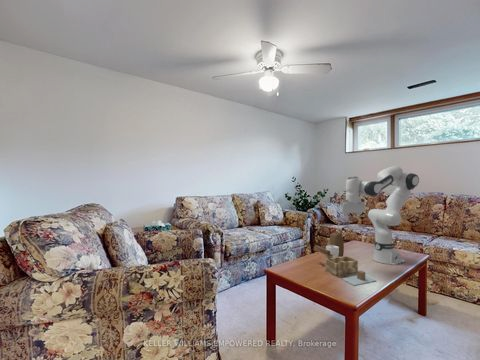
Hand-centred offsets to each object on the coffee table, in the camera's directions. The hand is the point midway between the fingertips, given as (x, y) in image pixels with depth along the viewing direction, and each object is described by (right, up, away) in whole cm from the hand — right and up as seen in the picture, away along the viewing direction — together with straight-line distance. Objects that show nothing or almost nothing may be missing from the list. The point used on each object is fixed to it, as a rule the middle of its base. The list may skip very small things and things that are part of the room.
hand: (352, 218), depth 168 cm
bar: (-21, -25, +3) cm, 32 cm away
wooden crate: (-12, -34, -9) cm, 37 cm away
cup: (-11, -34, +8) cm, 37 cm away
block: (-4, -34, +18) cm, 39 cm away
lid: (-7, -35, -22) cm, 42 cm away
